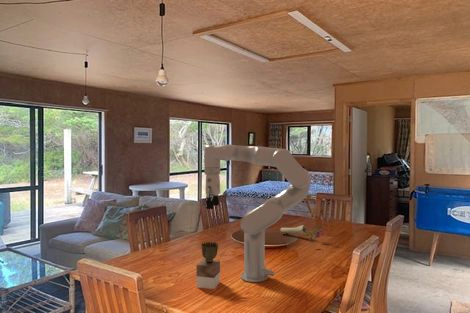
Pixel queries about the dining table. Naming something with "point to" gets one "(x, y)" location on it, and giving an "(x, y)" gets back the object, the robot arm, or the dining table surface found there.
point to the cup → (209, 251)
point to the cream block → (208, 282)
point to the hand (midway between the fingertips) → (212, 207)
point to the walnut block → (208, 268)
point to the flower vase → (303, 231)
